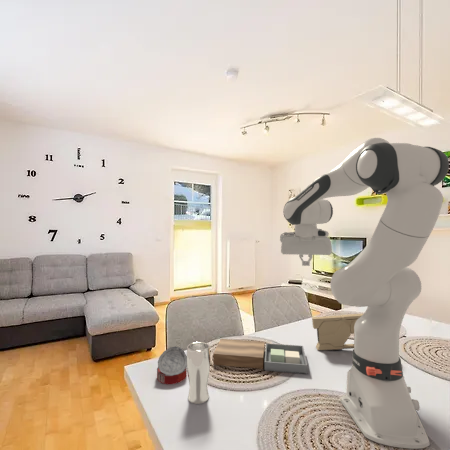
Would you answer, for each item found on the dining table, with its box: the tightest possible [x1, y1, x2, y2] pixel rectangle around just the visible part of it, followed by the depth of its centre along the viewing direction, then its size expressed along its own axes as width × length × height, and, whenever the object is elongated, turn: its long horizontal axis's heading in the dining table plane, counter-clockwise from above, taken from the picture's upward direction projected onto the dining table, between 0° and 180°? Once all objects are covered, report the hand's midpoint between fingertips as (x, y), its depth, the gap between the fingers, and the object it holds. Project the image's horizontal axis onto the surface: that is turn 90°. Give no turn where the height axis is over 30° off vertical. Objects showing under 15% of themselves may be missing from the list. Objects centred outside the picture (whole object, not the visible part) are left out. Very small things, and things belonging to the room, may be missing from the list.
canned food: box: [156, 346, 188, 385], centre depth 94 cm, size 11×10×10 cm
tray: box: [264, 342, 309, 375], centre depth 104 cm, size 16×14×3 cm
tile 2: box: [285, 351, 300, 364], centre depth 103 cm, size 5×5×2 cm
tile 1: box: [271, 349, 284, 362], centre depth 105 cm, size 5×5×2 cm
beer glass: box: [186, 341, 211, 405], centre depth 82 cm, size 7×7×15 cm
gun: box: [311, 313, 364, 352], centre depth 113 cm, size 24×3×15 cm, turn 84°
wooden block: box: [212, 338, 266, 370], centre depth 107 cm, size 14×18×4 cm
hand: (305, 265), depth 115 cm, fingers closed
